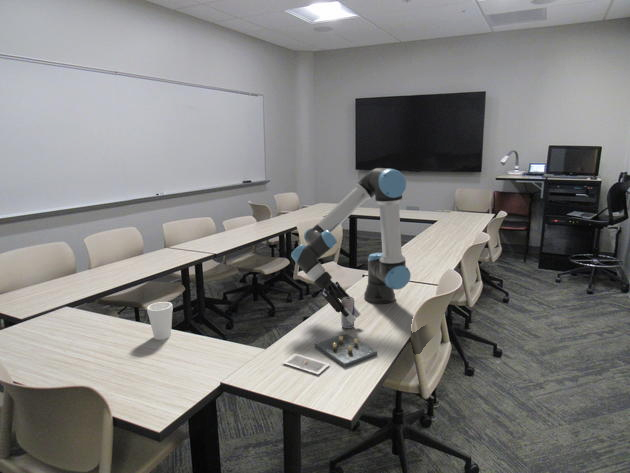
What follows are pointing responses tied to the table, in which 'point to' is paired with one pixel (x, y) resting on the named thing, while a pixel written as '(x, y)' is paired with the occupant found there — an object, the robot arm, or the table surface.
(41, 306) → the table surface
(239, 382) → the table surface
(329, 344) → the standoff plate
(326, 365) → the touchpad
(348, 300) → the energy drink
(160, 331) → the foam cup
